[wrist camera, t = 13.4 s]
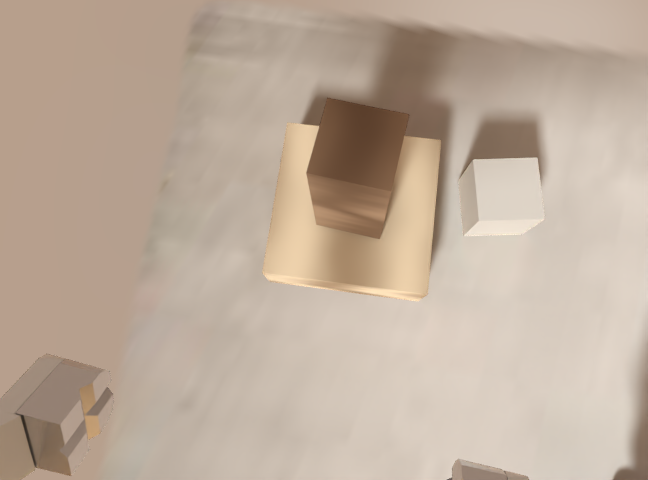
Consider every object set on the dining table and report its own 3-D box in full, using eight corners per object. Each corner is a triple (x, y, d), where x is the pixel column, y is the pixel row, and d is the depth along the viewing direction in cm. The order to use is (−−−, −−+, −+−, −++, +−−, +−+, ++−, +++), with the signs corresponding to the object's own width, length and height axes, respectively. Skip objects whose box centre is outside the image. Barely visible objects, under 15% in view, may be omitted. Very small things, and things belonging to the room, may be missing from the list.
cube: (515, 179, 35) (537, 157, 31) (521, 234, 34) (545, 219, 30) (457, 181, 35) (473, 159, 31) (462, 236, 34) (479, 221, 30)
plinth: (429, 163, 36) (441, 139, 32) (416, 301, 33) (427, 294, 30) (292, 148, 36) (287, 122, 32) (270, 282, 34) (262, 272, 30)
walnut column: (393, 179, 31) (409, 114, 23) (379, 239, 30) (391, 191, 22) (332, 166, 32) (327, 97, 24) (316, 224, 31) (305, 172, 23)
